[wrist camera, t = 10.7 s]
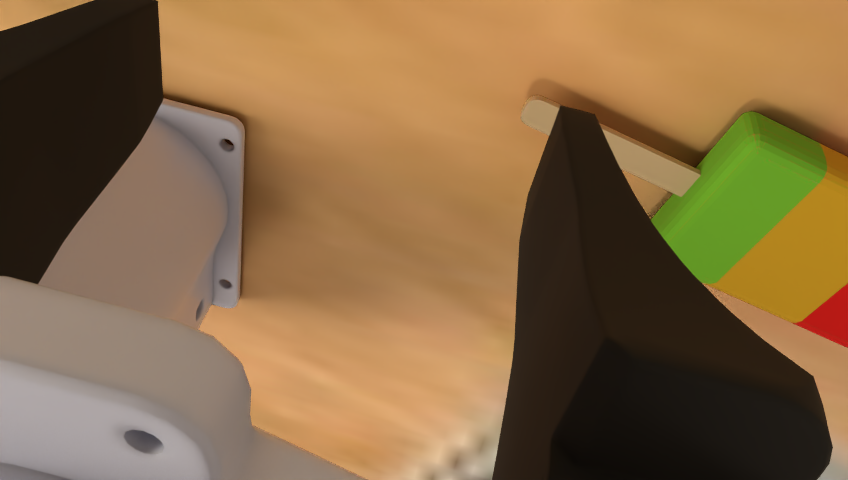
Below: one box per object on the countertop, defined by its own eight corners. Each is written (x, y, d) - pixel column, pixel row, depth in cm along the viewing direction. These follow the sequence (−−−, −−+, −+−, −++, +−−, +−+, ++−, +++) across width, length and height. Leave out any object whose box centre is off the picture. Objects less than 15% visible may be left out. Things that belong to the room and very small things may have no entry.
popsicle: (868, 328, 28) (881, 369, 26) (487, 155, 25) (480, 190, 24) (1004, 226, 24) (1028, 268, 23) (571, 14, 22) (569, 46, 20)
